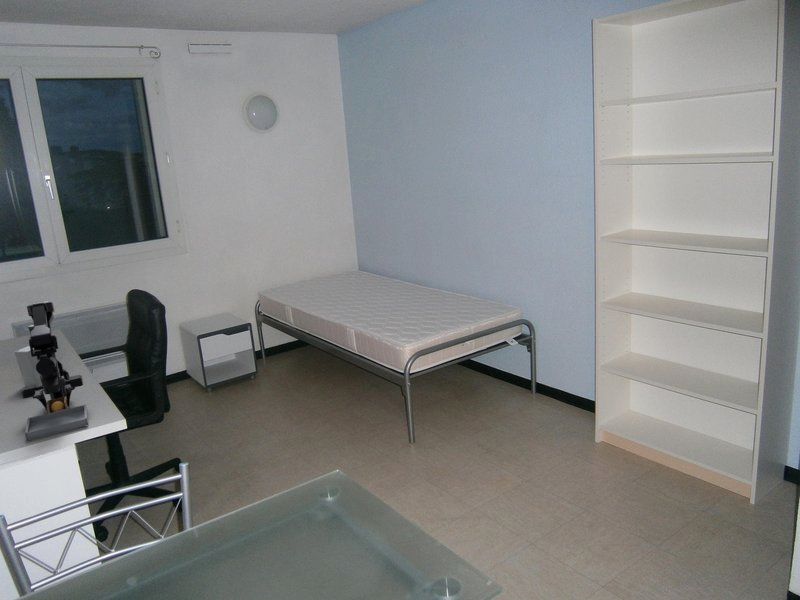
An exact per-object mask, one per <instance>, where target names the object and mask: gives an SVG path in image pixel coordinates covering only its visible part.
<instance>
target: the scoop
mask: <svg viewBox="0 0 800 600" xmlns="http://www.w3.org/2000/svg"><path fill="white" fill-rule="evenodd" d="M56 401H60V402H62V403H63V404H64V409H63V410H65V409H69V407H70V406H69V407H68V406H67V398H66V397H61V398H57V399H52V400H50V399H49V400H46V402H47V410H48V411H47V410H46V411H47V414H48V413H52V412H53V411H52V409H51V406H52V404H53V403H54V402H56Z"/></svg>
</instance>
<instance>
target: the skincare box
mask: <svg viewBox="0 0 800 600" xmlns="http://www.w3.org/2000/svg"><path fill="white" fill-rule="evenodd" d="M38 351H39V350H38ZM33 352H34V348H33ZM13 353H14V356H15V358H16V361H17V362H16V363H17V365H18V369H19V371H20V375H21V377H22V380H23V384H24V387H25V386H29V385H34V384H35V386H36V387H38V386H42V383H41V379H40V374H39V373H38V372H37V370H36V364H37V356H35V357H32V356H31V350H30V346H29V345H28V346H25V347H23V348H20V349H17V350H15V351H13Z"/></svg>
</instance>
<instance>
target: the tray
mask: <svg viewBox="0 0 800 600" xmlns="http://www.w3.org/2000/svg"><path fill="white" fill-rule="evenodd" d="M88 414H89V412H88V408H87V404H82V405H78V406H74V407H70V408H69V409H65V410H61V411H56V412H52V413H48V412H47V413H43V414H39V415H35V416H32V417H28V418H27V422H26V425H25V426H26V427H25V431H24V436H25V439H26V441H27V440H28V441H32V440H36V439H39V437H40V438H43V436H44V437H47V435H48V436H50V435H55V434H59V433H63V432H67V430H68V431H72V430H76V429H79V428H78V427H80V428H82V427H81V426H84V427H87V426H86V425H88V426H89V416H88ZM75 428H76V429H75ZM71 429H72V430H71ZM35 438H36V439H35ZM31 439H32V440H31Z"/></svg>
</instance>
